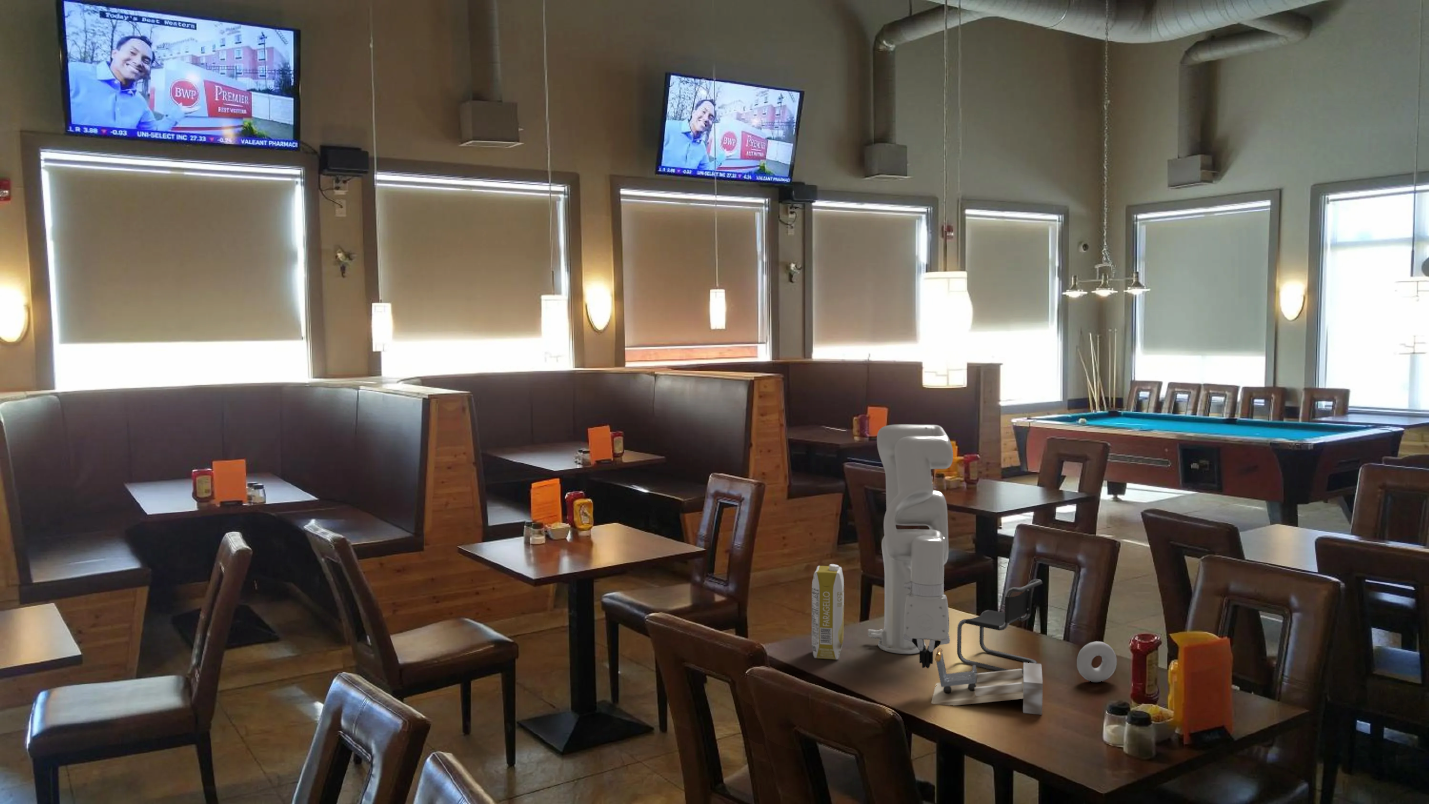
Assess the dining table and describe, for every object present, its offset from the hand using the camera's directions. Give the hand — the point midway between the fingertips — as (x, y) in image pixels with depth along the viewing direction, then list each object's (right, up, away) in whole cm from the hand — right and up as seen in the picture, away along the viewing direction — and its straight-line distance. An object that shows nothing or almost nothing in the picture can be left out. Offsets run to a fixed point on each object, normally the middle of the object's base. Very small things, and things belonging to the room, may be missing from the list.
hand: (926, 666), depth 236 cm
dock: (+13, -7, -4) cm, 16 cm away
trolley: (+7, -5, -2) cm, 9 cm away
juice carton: (-20, -5, +28) cm, 35 cm away
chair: (+23, -5, +22) cm, 32 cm away
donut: (+43, -6, +7) cm, 44 cm away
